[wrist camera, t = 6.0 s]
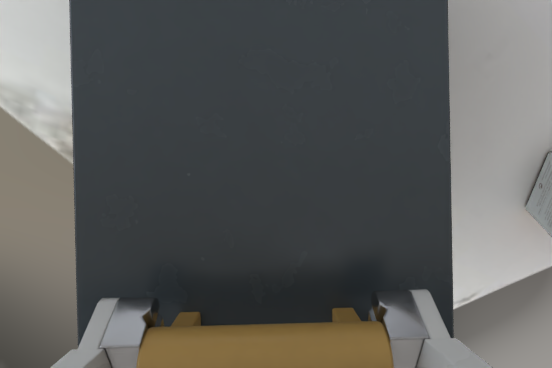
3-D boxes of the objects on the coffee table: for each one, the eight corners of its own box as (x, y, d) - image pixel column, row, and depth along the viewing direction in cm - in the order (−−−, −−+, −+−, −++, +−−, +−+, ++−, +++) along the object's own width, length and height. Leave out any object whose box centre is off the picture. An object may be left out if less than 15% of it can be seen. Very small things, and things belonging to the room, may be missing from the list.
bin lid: (444, 364, 14) (533, 456, 9) (88, 374, 14) (-5, 474, 9) (436, -72, 14) (522, -201, 9) (78, -68, 14) (-22, -197, 9)
